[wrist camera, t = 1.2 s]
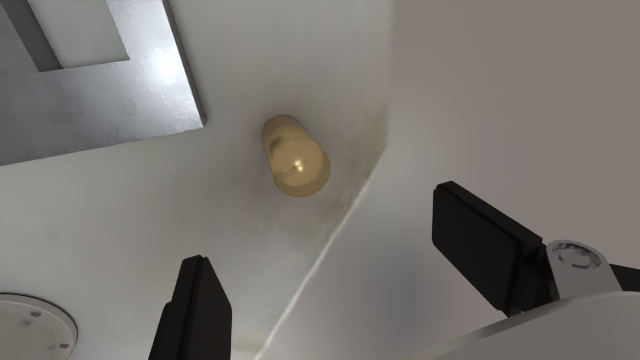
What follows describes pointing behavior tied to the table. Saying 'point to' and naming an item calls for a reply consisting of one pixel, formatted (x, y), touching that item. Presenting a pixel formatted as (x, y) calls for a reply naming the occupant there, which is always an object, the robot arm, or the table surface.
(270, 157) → the tan cylinder
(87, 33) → the table surface
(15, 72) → the plate
